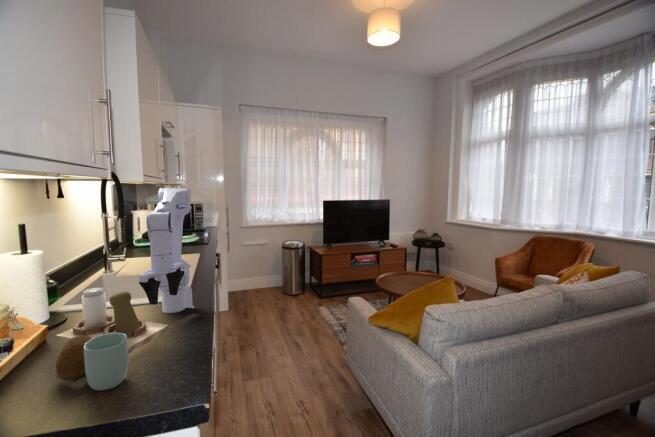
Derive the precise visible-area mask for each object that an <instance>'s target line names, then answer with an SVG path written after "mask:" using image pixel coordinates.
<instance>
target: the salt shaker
mask: <svg viewBox="0 0 655 437" xmlns="http://www.w3.org/2000/svg"><path fill="white" fill-rule="evenodd" d="M106 293H107V292H106V291H105V289H104V287H93V288H87V289H85V290H83V293H82V295H81V308H82V320H83V325H84V328H85V329H88V328H93V327H99V326H102V325H105V324H107V315H108V312H107V294H106Z"/></svg>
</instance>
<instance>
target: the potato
mask: <svg viewBox="0 0 655 437" xmlns="http://www.w3.org/2000/svg"><path fill="white" fill-rule="evenodd" d="M91 339H93V338H92V337H90V336H78V337H74V338H70V340H68V341H66V342H65V343H64V345H63V346H62V348H61V350H60V351H59V354H58V356H57V357H56V358H57V359H56V363H55V372H56V375H57V376H58V378H60V379H61V380H62V381H65V382H66V381H74V380H77V379H78V378H80V379H81V378H84V376H85V377H86V375H85V367H84V353H83V349H84V345H85V344H86V342H88V341H89V340H91Z"/></svg>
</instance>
